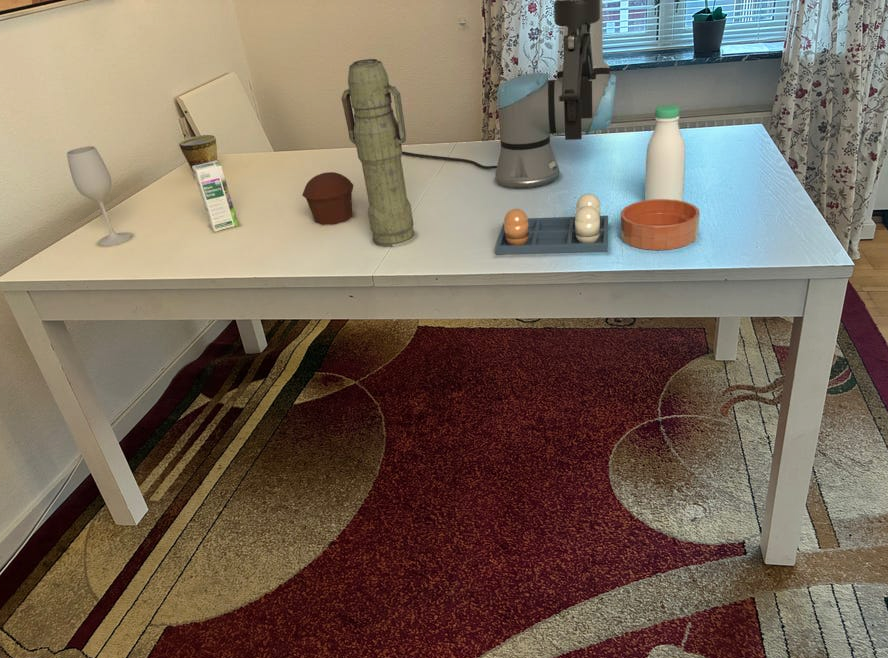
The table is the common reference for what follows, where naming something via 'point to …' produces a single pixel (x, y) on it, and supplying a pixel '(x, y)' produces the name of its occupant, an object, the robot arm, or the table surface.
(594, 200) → the cream egg
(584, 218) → the cream egg
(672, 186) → the milk bottle
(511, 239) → the brown egg
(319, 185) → the muffin
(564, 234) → the egg tray
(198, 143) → the ceramic cup
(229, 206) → the syrup box
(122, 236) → the wineglass
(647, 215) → the bowl
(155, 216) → the table surface
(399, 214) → the thermos
